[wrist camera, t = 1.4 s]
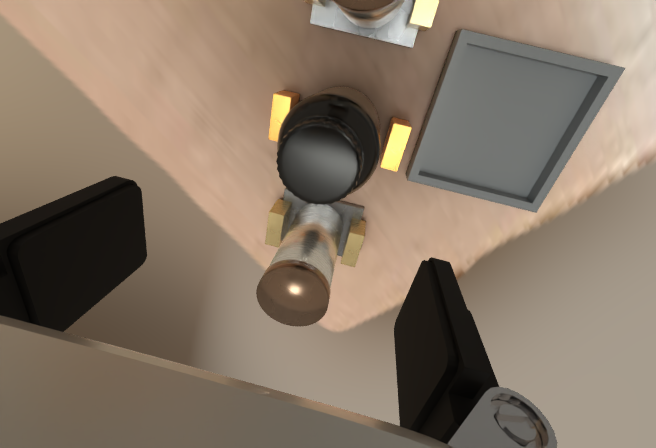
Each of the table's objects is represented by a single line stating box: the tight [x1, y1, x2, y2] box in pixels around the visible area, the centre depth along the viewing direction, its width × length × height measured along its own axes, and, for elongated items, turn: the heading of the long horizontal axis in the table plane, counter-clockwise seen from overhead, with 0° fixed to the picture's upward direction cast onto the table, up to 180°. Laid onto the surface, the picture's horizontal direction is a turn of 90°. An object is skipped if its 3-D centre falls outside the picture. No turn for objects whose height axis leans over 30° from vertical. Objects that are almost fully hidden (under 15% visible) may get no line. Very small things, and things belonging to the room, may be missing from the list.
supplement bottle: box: [276, 86, 380, 205], centre depth 22 cm, size 7×7×12 cm
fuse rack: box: [256, 0, 439, 326], centre depth 22 cm, size 26×11×12 cm, turn 168°
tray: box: [406, 29, 625, 212], centre depth 25 cm, size 11×11×2 cm
